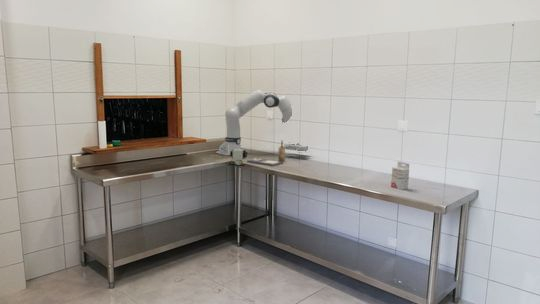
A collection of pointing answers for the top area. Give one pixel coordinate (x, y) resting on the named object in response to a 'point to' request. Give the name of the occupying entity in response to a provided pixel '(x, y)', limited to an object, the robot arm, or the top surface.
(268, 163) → the switch board
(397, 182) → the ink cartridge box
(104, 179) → the top surface
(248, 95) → the robot arm
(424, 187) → the top surface
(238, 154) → the pneumatic valve
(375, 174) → the top surface
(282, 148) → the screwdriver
